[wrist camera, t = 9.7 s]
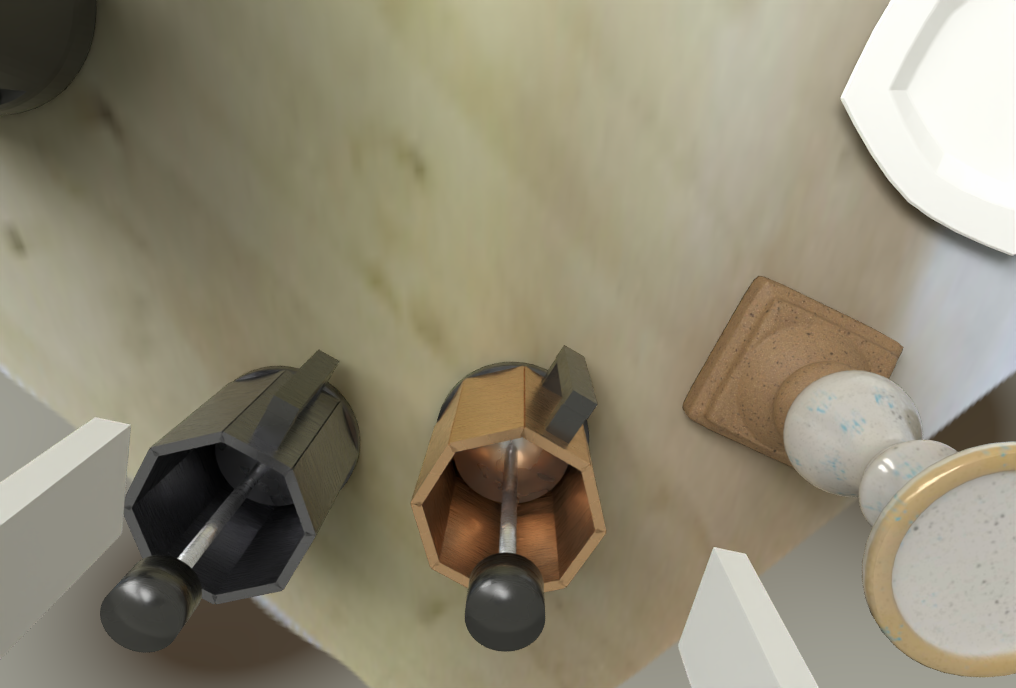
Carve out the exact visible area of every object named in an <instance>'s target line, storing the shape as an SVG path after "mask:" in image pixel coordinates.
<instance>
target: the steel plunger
mask: <svg viewBox="0 0 1016 688" xmlns="http://www.w3.org/2000/svg"><path fill="white" fill-rule="evenodd" d="M215 455H216V460H217V463H218V466H219V468H220V471H221V473H222V474H223V476H224V478H225V479H226V480H227V481H228V483H229V484H230V485H231V486H232V487H233V488H234V490H233V492H232V493H231V494H230V495H229V496H228V498H227V499H226V500H225V501H224V503H223V504H222V505H221V506H220V507H219V509H218V510H217V511H216V512H215V513H214V515H213V516H212V517H211V518H210V519H209V521H208V522H207V523H206V524H205V525H204V527H203V528H202V529H201V530H200V531H199V533H198V534H197V535H196V536H195V537H194V539H193V540H192V541H191V542H190V543H189V545H188V546H187V547H186V548H185V550H184V551H183V552H182V553H181V554H180V556H179V557H178V558H175V557H171V556H167V555H153V556H149V557H146V558H144V559H142V560H140V561H139V562H138V563H136V564H135V566H134V567H133V568H132V569H131V570H130V571H129V572H128V573H127V574H126V575H125V576H124V578H123V579H122V580H121V581H120V582H119V583H118V584H117V585H116V586H115V587H114V589H113V590H112V591H111V592H110V593H109V594H108V595H107V596H106V597H105V599H104V601H103V603H102V605H101V611H100V616H101V622H102V624H103V627H104V629H105V631H106V632H107V633H108V635H109V636H110V637H111V638H112V639H113V640H114V641H115V642H117V643H118V644H119V645H121V646H123V647H125V648H127V649H130V650H133V651H137V652H155V651H158V650H161V649H163V648H165V647H167V646H168V645H169V644H171V643H172V642H173V640H174V639H175V638H176V636H177V635H178V633H179V632H180V631H181V629H182V628H183V626H184V625H185V623H186V622H187V620H188V619H189V618H190V616H191V615H192V613H193V612H194V611H195V609H196V608H197V606H198V605H199V603H200V601H201V597H202V586H201V582H200V580H199V578H198V576H197V574H196V573H195V571H194V570H193V569H192V567H193V566H194V565H195V564H196V562H197V561H198V560H199V558H200V557H201V556H202V555H203V553H204V552H205V551H206V549H207V548H208V547H209V546H210V544H211V543H212V542H213V540H214V539H215V538H216V537H217V535H218V534H219V533H220V531H221V530H222V529H223V528H224V526H225V525H226V524H227V522H228V521H229V520H230V518H231V517H232V516H233V515H234V513H235V512H236V511H237V509H238V508H239V507H240V506H241V504H242V503H243V502H244V500H245V499H246V498H248V499H251V500H253V501H255V502H258V503H261V504H266V505H274V506H283V505H290V504H294V502H293V500H292V497H291V494H290V491H289V488H288V486H287V483H286V480H285V477H284V475H283V474H281V473H279V472H277V471H275V470H273V469H272V468H270V467H268V466H266V465H264V464H262V463H260V462H259V461H257V460H255V459H253V458H251V457H249V456H247V455H246V454H244V453H242V452H240V451H238V450H236V449H234V448H233V447H231V446H229V445H227V444H225V443H223V442H219V443H215Z"/></svg>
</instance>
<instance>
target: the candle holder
mask: <svg viewBox="0 0 1016 688" xmlns="http://www.w3.org/2000/svg"><path fill="white" fill-rule="evenodd" d="M902 350H903V347H902V346H901V345H900V344H899V343H898V342H896V341H895V340H893V339H891V338H889V337H887V336H886V335H884V334H882V333H880V332H878V331H877V330H875V329H873V328H871V327H869V326H867V325H865V324H863V323H861V322H859V321H857V320H855V319H853V318H851V317H848V316H846V315H844V314H842V313H840V312H838V311H836V310H834V309H832V308H830V307H828V306H826V305H824V304H822V303H820V302H817V301H815V300H813V299H811V298H809V297H807V296H805V295H803V294H801V293H799V292H797V291H795V290H793V289H791V288H789V287H786V286H784V285H782V284H780V283H778V282H775V281H773V280H770V279H768V278H766V277H762V276H758V277H757V278H756V279H754V281H753V282H752V284H751V285H750V287H749V288H748V290H747V292H746V293H745V295H744V296H743V298H742V300H741V301H740V303H739V305H738V306H737V308H736V310H735V312H734V313H733V315H732V317H731V319H730V320H729V322H728V324H727V326H726V327H725V329H724V331H723V333H722V334H721V336H720V338H719V340H718V341H717V343H716V345H715V347H714V348H713V350H712V352H711V354H710V355H709V357H708V359H707V361H706V362H705V364H704V366H703V368H702V369H701V371H700V373H699V375H698V376H697V378H696V380H695V382H694V383H693V385H692V387H691V389H690V391H689V393H688V395H687V397H686V399H685V401H684V403H683V409H684V411H685V413H686V414H687V416H688V417H689V418H690V419H692V420H693V421H695V422H697V423H699V424H701V425H702V426H704V427H706V428H708V429H710V430H712V431H714V432H716V433H719V434H721V435H723V436H725V437H727V438H730V439H732V440H734V441H736V442H738V443H741V444H743V445H745V446H747V447H749V448H752V449H754V450H756V451H758V452H760V453H763V454H765V455H767V456H769V457H771V458H774V459H776V460H778V461H780V462H782V463H785V464H787V465H789V466H791V467H793V468H795V470H796V471H797V472H798V473H799V474H800V476H801V477H803V478H804V479H805V480H806V481H808V482H809V483H810V484H812V485H813V486H815V487H817V488H818V489H820V490H823V491H825V492H828V493H831V494H834V495H838V496H843V497H859V504H860V508H861V511H862V514H863V515H864V517H865V519H866V520H867V522H868V523H869V524H870V525H871V526H872V529H871V532H870V534H869V537H868V540H867V542H866V546H865V551H864V555H863V560H862V582H863V588H864V594H865V598H866V601H867V604H868V606H869V609H870V612H871V614H872V616H873V617H874V619H875V621H876V623H877V624H878V626H879V628H880V629H881V631H882V632H883V633H884V634H885V635H886V637H887V638H888V639H889V640H890V641H891V642H892V643H893V644H894V645H895V646H896V647H897V648H898V649H899V650H901V651H902V652H903V653H904V654H906V655H907V656H908V657H910V658H911V659H913V660H915V661H917V662H919V663H920V664H922V665H924V666H926V667H929V668H932V669H935V670H937V671H940V672H944V673H948V674H954V675H959V676H969V677H993V676H1005V675H1010V674H1015V673H1016V442H1001V443H990V444H986V445H981V446H977V447H973V448H968V449H966V450H963V451H960V452H957V451H956V450H955V449H953V448H951V447H949V446H948V445H946V444H943V443H940V442H937V441H932V440H923V429H922V421H921V418H920V415H919V412H918V410H917V408H916V406H915V404H914V402H913V401H912V399H911V398H910V397H909V396H908V394H907V393H906V392H905V391H904V390H903V389H902V388H901V387H900V386H898V385H897V384H896V383H895V382H893V381H891V380H889V377H890V375H891V373H892V372H893V370H894V368H895V366H896V362H897V360H898V358H899V356H900V355H901V353H902Z"/></svg>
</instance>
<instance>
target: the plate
mask: <svg viewBox="0 0 1016 688" xmlns="http://www.w3.org/2000/svg"><path fill="white" fill-rule="evenodd" d="M840 99H841V101H842V103H843V105H844V107H845V109H846V111H847V113H848V115H849V117H850V118H851V120H852V122H853V124H854V126H855V128H856V130H857V131H858V133H859V135H860V137H861V138H862V140H863V142H864V143H865V145H866V147H867V149H868V150H869V152H870V154H871V155H872V157H873V158H874V160H875V161H876V163H877V164H878V165H879V167H880V168H881V170H882V171H883V173H884V174H885V176H886V177H887V178H888V180H889V181H890V182H891V183H892V185H893V186H894V187H895V188H896V189H897V190H898V191H899V192H900V194H901V195H902V196H903V197H904V198H905V199H906V200H907V201H908V202H909V203H910V204H912V205H913V206H914V207H916V208H917V209H918V210H920V211H921V212H923V213H924V214H925V215H927V216H928V217H930V218H931V219H933V220H935V221H936V222H938V223H940V224H942V225H944V226H945V227H947V228H949V229H951V230H953V231H954V232H956V233H959V234H961V235H963V236H965V237H967V238H970V239H972V240H974V241H976V242H978V243H981V244H983V245H985V246H987V247H990V248H993V249H995V250H998V251H1001V252H1003V253H1006V254H1008V255H1011V256H1013V255H1015V254H1016V0H891V1H890V3H889V5H888V6H887V8H886V10H885V11H884V13H883V15H882V16H881V18H880V20H879V21H878V23H877V25H876V26H875V28H874V30H873V32H872V34H871V36H870V38H869V40H868V42H867V44H866V46H865V48H864V50H863V52H862V54H861V56H860V58H859V60H858V62H857V64H856V66H855V68H854V70H853V72H852V74H851V77H850V79H849V81H848V83H847V85H846V87H845V89H844V91H843V94H842V96H841V98H840Z"/></svg>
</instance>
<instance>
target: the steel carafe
mask: <svg viewBox="0 0 1016 688" xmlns="http://www.w3.org/2000/svg"><path fill="white" fill-rule="evenodd" d="M338 363H339V361H338V360H336V359H334V358H333V357H331V356H329V355H327V354H326V353H324V352H322V351H320V350H319V349H318V351H317V352H316V353H315V354H314V355H313V356H312V357H311V358H310V359H309V360H308V361H307V362H306V363H305V364H304V365H303V366H302V367H301V368H300V369H298V368H294V367H286V366H270V367H264V368H259V369H256V370H253V371H250V372H248V373H246V374H244V375H242V376H240V377H239V378H237V379H236V380H235V381H233V382H231V383H229V384H227V385H226V386H225V387H224V388H222V389H221V390H220V391H219V392H217V393H216V394H215V395H214V396H213V397H211V398H210V399H209V400H208V401H207V402H205V403H204V404H203V405H202V406H200V407H199V408H198V409H197V410H196V411H194V412H193V413H192V414H191V415H190V416H188V417H187V418H186V419H185V420H183V421H182V422H181V423H180V424H179V425H177V426H176V427H175V428H174V429H172V430H171V431H170V432H169V433H168V434H166V435H165V436H164V437H163V438H162V439H160V440H159V441H158V442H157V443H155V444H154V445H153V446H152V447H151V448H150V449H149V451H148V453H147V455H146V457H145V458H144V460H143V462H142V464H141V466H140V468H139V470H138V472H137V474H136V476H135V478H134V480H133V482H132V484H131V486H130V488H129V490H128V492H127V494H126V496H125V501H124V513H123V514H124V517H125V519H126V521H127V524H128V526H129V528H130V531H131V533H132V535H133V537H134V540H135V542H136V544H137V547H138V549H139V551H140V554H141V556H142V558H143V559H144V558H146V557H149V556H153V555H167V556H171V557H175V558H178V557H179V556H180V554H181V553H182V552H183V551H184V550H185V548H186V547H187V546H188V545H189V543H190V542H191V541H192V540H193V539H194V537H195V536H196V535H197V534H198V533H199V531H200V530H201V529H202V528H203V527H204V525H205V524H206V523H207V522H208V521H209V519H210V518H211V517H212V516H213V515H214V513H215V512H216V511H217V510H218V509H219V507H220V506H221V505H222V504H223V503H224V501H225V500H226V499H227V498H228V496H229V495H230V494H231V493H232V492H233V490H234V488H233V487H232V486H231V485H230V484H229V483H228V481H227V480H226V479H225V478H224V476H223V474H222V473H221V471H220V468H219V466H218V463H217V460H216V455H215V443H219V442H223V443H225V444H227V445H229V446H231V447H233V448H234V449H236V450H238V451H240V452H242V453H244V454H246V455H247V456H249V457H251V458H253V459H255V460H257V461H259V462H260V463H262V464H264V465H266V466H268V467H270V468H272V469H273V470H275V471H277V472H279V473H281V474H283V475H284V477H285V480H286V483H287V486H288V488H289V491H290V494H291V497H292V500H293V502H294V504H290V505H283V506H274V505H266V504H261V503H258V502H255V501H253V500H251V499H248V498H246V499H245V500H244V502H243V503H242V504H241V506H240V507H239V508H238V509H237V511H236V512H235V513H234V515H233V516H232V517H231V518H230V520H229V521H228V522H227V524H226V525H225V526H224V528H223V529H222V530H221V531H220V533H219V534H218V535H217V537H216V538H215V539H214V540H213V542H212V543H211V544H210V546H209V547H208V548H207V549H206V551H205V552H204V553H203V555H202V556H201V557H200V558H199V560H198V561H197V562H196V564H195V565H194V566H193V567H192V569H193V570H194V571H195V573H196V574H197V576H198V578H199V580H200V582H201V586H202V597H201V598H203V599H205V600H206V601H209V602H210V603H212V604H214V603H215V604H220V603H225V602H229V601H234V600H239V599H244V598H249V597H254V596H259V595H264V594H269V593H274V592H278V591H282V590H284V588H285V586H286V585H287V583H288V581H289V580H290V578H291V576H292V575H293V573H294V571H295V570H296V568H297V566H298V565H299V563H300V561H301V560H302V558H303V556H304V555H305V553H306V551H307V550H308V548H309V546H310V545H311V543H312V541H313V540H314V538H315V536H316V535H317V533H318V531H319V529H320V527H321V525H322V523H323V521H324V519H325V518H326V516H327V514H328V512H329V510H330V508H331V506H332V504H333V502H334V500H335V498H336V497H337V495H338V493H339V491H340V490H341V489H342V488H343V487H344V485H345V484H346V482H347V481H348V479H349V478H350V476H351V474H352V472H353V470H354V468H355V466H356V463H357V460H358V456H359V451H360V433H359V427H358V423H357V420H356V418H355V415H354V413H353V411H352V409H351V407H350V405H349V404H348V402H347V401H346V400H345V398H344V397H343V396H342V395H341V394H340V393H339V391H338V390H337V389H336V388H334V387H333V386H332V385H331V384H330V383H328V380H329V378H330V377H331V375H332V373H333V372H334V370H335V368H336V366H337V365H338Z"/></svg>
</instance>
